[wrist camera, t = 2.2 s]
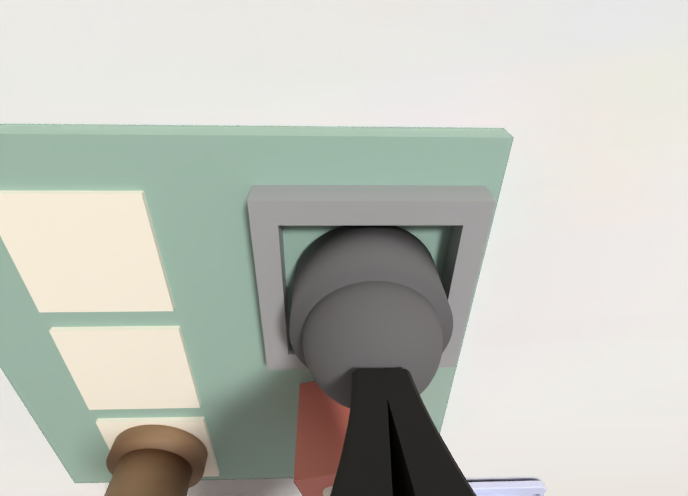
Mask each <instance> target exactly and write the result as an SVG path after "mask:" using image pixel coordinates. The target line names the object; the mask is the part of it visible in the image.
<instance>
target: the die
mask: <svg viewBox="0 0 688 496" xmlns="http://www.w3.org/2000/svg"><path fill="white" fill-rule="evenodd" d="M349 414H350V408H347V407H345V406H343V405H341V404H339V403H337V402H336V401H334V400H333V399H332V398H330V397H329V396H328V395H327V394H326V393H324V391H323V390H322V389H321V388H320V387H319V386H318V385H317V383H316V382H315V381H312V382H306V383H301V384H300V386H299V402H298V418H297V434H296V450H295V466H294V483H295V484H296V486H297V487H298V489H299V491H300V492H301V494H302V496H330V494H331V491H332V487H333V484H334V480H335V476H336V473H337V469H338V466H339V462H340V458H341V454H342V449H343V444H344V440H345V435H346V430H347V426H348V420H349Z"/></svg>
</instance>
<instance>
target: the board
mask: <svg viewBox="0 0 688 496" xmlns="http://www.w3.org/2000/svg"><path fill="white" fill-rule="evenodd" d="M513 138H514V137H513V136H511V135H510V134H509V133H508V132H507V131H506V130H505V129H504V128H416V127H296V126H176V125H56V124H0V368H1V369H2V371H3V372H4V374H5V375H6V377H7V378H8V380H9V382H10V383H11V385H12V386H13V388H14V389H15V391H16V392H17V394H18V396H19V397H20V399H21V400H22V402H23V403H24V405H25V406H26V408H27V410H28V411H29V413H30V414H31V416H32V417H33V419H34V421H35V422H36V424H37V425H38V427H39V428H40V430H41V431H42V433H43V435H44V436H45V438H46V439H47V441H48V442H49V444H50V445H51V447H52V449H53V450H54V452H55V453H56V455H57V456H58V458H59V459H60V461H61V463H62V464H63V466H64V467H65V469H66V470H67V472H68V473H69V475H70V477H71V478H72V480H73V481H74V483H105V482H110V481H111V479H112V476H113V475H112V474H111V473H110V472H109V470H108V468H107V466H106V459H107V457H108V454H109V452H110V450H111V447H112V445H113V443H114V441H115V439H116V437H117V436H118V435H119V434H120V433H121V432H123V431H125V430H127V429H129V428H132V427H135V426H140V425H165V426H171V427H175V428H179V429H182V430H184V431H187V432H189V433H191V434H193V435H194V436H196V437H197V438H198V439H200V440H201V441H202V442H203V443H204V445H205V446H206V449H207V452H208V457H207V461H206V465H205V470H204V474H203V477H202V478H201V480H228V479H269V478H294V466H295V450H296V434H297V418H298V402H299V386H300V384H301V383H306V382H312V381H315V380H314V379H313V377H312V375H311V373H310V371H309V369H308V368H307V367H306V366H305V365H304V364H303V363H302V362H301V361H300V360H299V358H298V357H297V356H296V354H295V352H294V350H293V348H292V345H291V342H290V336H289V326H290V316H291V306H292V296H293V286H294V276H295V271H296V267H297V264H298V261H299V259H300V258H301V256H302V254H303V253H304V251H305V250H306V249H307V248H308V246H310V245H311V244H312V243H313V242H314V241H315V240H316V239H317V238H319V237H320V236H321V235H323V234H325V233H327V232H328V231H330V230H333V229H335V228H337V227H340V226H344V225H394V226H397V227H400V228H402V229H404V230H406V231H408V232H410V233H411V234H413V235H414V236H416V237H417V238H418V239H419V240H421V242H422V243H423V244H424V245H425V246H426V247H427V249H428V250H429V252H430V253H431V256H432V258H433V260H434V263H435V266H436V269H437V272H438V274H439V277H440V280H441V283H442V286H443V288H444V291H445V294H446V297H447V300H448V302H449V305H450V308H451V311H452V316H453V331H452V336H451V339H450V341H449V343H448V345H447V347H446V349H445V350H444V352H443V353H442V356H441V360H440V364H439V367H438V370H437V372H436V374H435V376H434V378H433V379H432V381H431V383H430V384H429V385H428V387H427V388H426V389H425V390H424V391H423V392H422V393H421V394H420V397H421V399H422V401H423V403H424V405H425V407H426V409H427V411H428V413H429V415H430V417H431V419H432V421H433V423H434V425H435V426H436V428H437V430H438V432H439V434H440V431H441V427H442V423H443V419H444V415H445V411H446V407H447V403H448V399H449V395H450V391H451V387H452V383H453V379H454V375H455V371H456V367H457V363H458V359H459V355H460V351H461V347H462V343H463V339H464V335H465V331H466V327H467V323H468V319H469V315H470V311H471V307H472V302H473V298H474V294H475V290H476V286H477V282H478V278H479V274H480V270H481V266H482V262H483V258H484V254H485V250H486V246H487V242H488V238H489V234H490V230H491V226H492V222H493V218H494V214H495V210H496V206H497V202H498V198H499V194H500V190H501V186H502V182H503V178H504V174H505V170H506V166H507V162H508V158H509V154H510V150H511V146H512V142H513Z"/></svg>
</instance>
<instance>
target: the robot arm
mask: <svg viewBox="0 0 688 496" xmlns="http://www.w3.org/2000/svg"><path fill="white" fill-rule="evenodd" d="M545 492H546V487H545V485H544V483H543V482H542V481H537V480H535V481H495V482H468V481H467V480H466V478H465V477H464V475H463V473H462V472H461V470H460V468H459V467H458V465H457V464H456V462H455V460H454V458H453V457H452V455H451V453H450V451H449V450H448V448H447V446H446V444H445V443H444V441H443V439H442V437H441V436H440V434H439V432H438V430H437V428H436V426H435V425H434V423H433V421H432V419H431V417H430V415H429V413H428V411H427V409H426V407H425V405H424V403H423V401H422V399H421V397H420V394H419V392H418V390H417V388H416V385H415V383H414V381H413V378H412V376H411V373H410V372H409V371H408V370H407V369H362V370H355V371H354V372H352V381H351V403H350V414H349V420H348V426H347V430H346V435H345V440H344V444H343V449H342V454H341V458H340V462H339V466H338V469H337V473H336V476H335V480H334V484H333V487H332V491H331V494H330V496H543V495H544V493H545Z"/></svg>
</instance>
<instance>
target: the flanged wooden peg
mask: <svg viewBox="0 0 688 496" xmlns="http://www.w3.org/2000/svg"><path fill="white" fill-rule="evenodd" d="M207 457H208V452H207V449H206V446H205V445H204V443H203V442H202V441H201V440H200V439H198V438H197V437H196V436H194V435H193V434H191V433H189V432H187V431H184V430H182V429H179V428H175V427H171V426H165V425H140V426H135V427H132V428H129V429H127V430H125V431H123V432H121V433H120V434H119V435H118V436H117V437H116V439H115V441H114V443H113V445H112V447H111V450H110V452H109V454H108V457H107V459H106V466H107V468H108V470H109V472H110V473H111V474H112V475H113V476H112V479H111V481H110V483H109V486H108V488H107V491H106V493H105V496H186V495H187V491H188V488H189V487H192V486H194V485H195V484H197V483H198V482H199V481H200V480H201V478H202V477H203V474H204V470H205V465H206V461H207Z"/></svg>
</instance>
